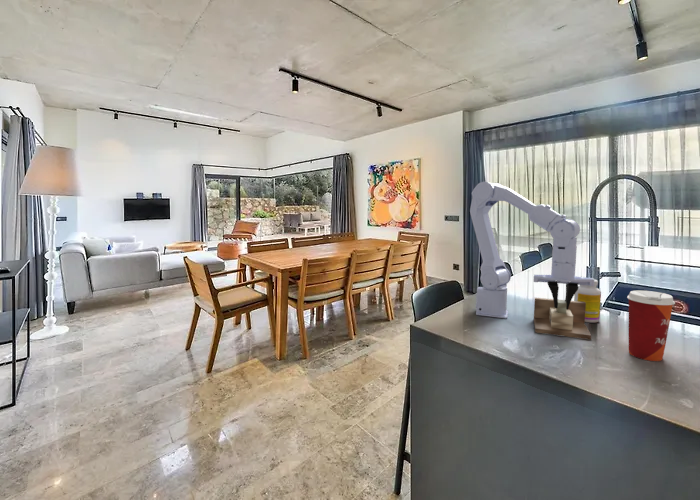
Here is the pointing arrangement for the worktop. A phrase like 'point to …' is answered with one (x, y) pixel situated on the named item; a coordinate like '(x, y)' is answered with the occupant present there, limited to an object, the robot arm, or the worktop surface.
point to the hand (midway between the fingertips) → (561, 307)
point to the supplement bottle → (590, 301)
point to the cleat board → (544, 327)
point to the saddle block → (561, 316)
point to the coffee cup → (649, 323)
